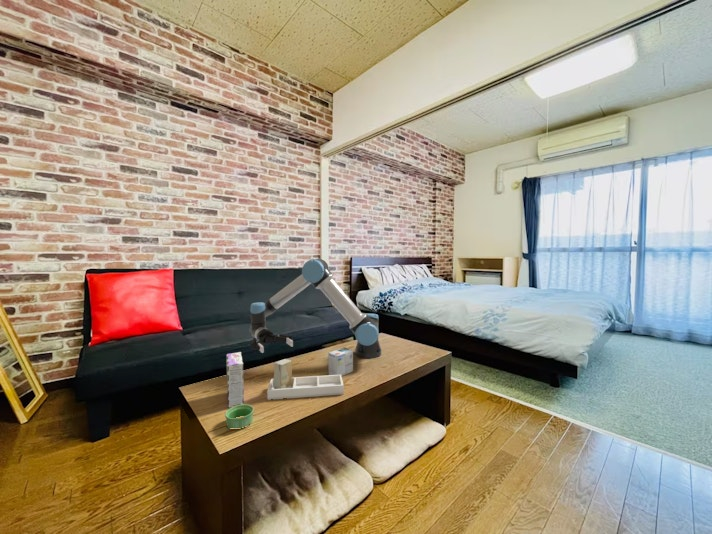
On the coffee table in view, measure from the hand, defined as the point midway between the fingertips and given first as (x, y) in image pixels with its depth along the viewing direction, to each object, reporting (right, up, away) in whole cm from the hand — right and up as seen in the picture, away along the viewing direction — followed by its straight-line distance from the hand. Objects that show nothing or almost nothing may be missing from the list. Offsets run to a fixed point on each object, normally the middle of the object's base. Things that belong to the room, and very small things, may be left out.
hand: (277, 346), depth 131 cm
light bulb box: (+28, -15, +9) cm, 33 cm away
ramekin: (-4, -18, -32) cm, 37 cm away
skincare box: (+5, -15, -11) cm, 19 cm away
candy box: (-13, -17, -15) cm, 26 cm away
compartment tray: (+15, -16, -9) cm, 24 cm away
